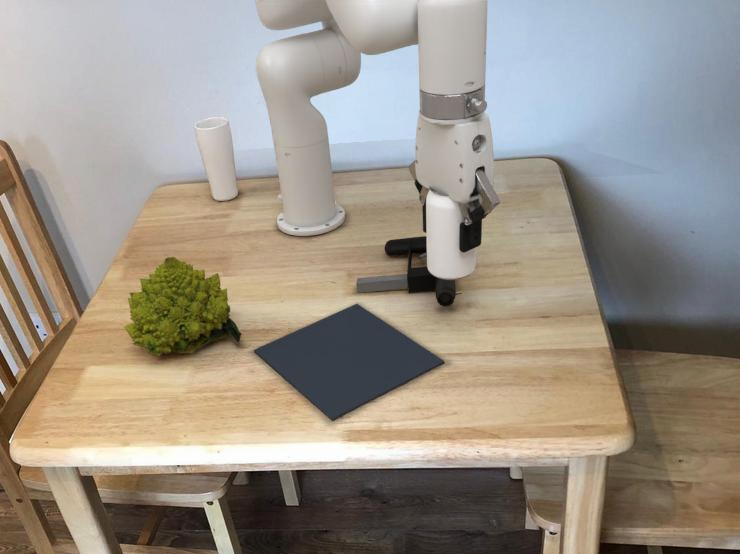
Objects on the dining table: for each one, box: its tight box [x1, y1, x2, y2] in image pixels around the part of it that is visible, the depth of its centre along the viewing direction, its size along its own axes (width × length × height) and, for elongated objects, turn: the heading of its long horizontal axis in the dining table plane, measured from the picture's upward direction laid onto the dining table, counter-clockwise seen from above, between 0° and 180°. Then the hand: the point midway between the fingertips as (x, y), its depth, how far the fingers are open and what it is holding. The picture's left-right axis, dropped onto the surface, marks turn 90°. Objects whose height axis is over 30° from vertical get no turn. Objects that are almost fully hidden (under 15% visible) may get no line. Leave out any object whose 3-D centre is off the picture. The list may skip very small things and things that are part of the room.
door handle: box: [355, 235, 463, 308], centre depth 119 cm, size 3×20×16 cm
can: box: [425, 186, 477, 281], centre depth 99 cm, size 6×6×12 cm
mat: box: [253, 303, 445, 422], centre depth 104 cm, size 20×18×1 cm
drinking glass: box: [193, 116, 239, 202], centre depth 149 cm, size 7×7×15 cm
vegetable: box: [123, 256, 242, 357], centre depth 110 cm, size 15×16×15 cm
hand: (451, 237), depth 100 cm, fingers closed on can, 6 cm apart
